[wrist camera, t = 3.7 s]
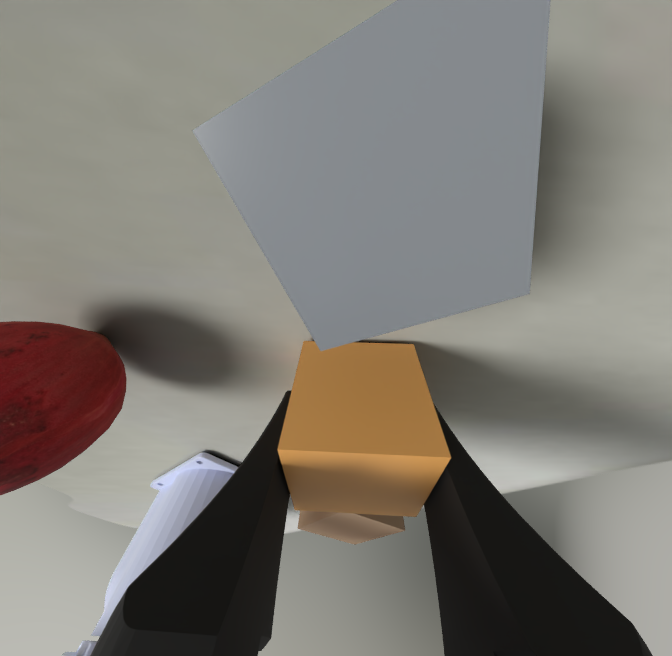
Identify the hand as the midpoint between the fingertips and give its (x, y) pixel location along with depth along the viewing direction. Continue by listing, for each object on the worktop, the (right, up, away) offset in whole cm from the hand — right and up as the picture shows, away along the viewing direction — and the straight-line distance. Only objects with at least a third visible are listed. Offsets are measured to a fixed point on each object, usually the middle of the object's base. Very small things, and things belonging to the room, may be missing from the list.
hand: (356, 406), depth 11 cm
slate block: (0, +8, -3) cm, 9 cm away
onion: (-12, +3, +1) cm, 13 cm away
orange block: (0, +1, +1) cm, 2 cm away
